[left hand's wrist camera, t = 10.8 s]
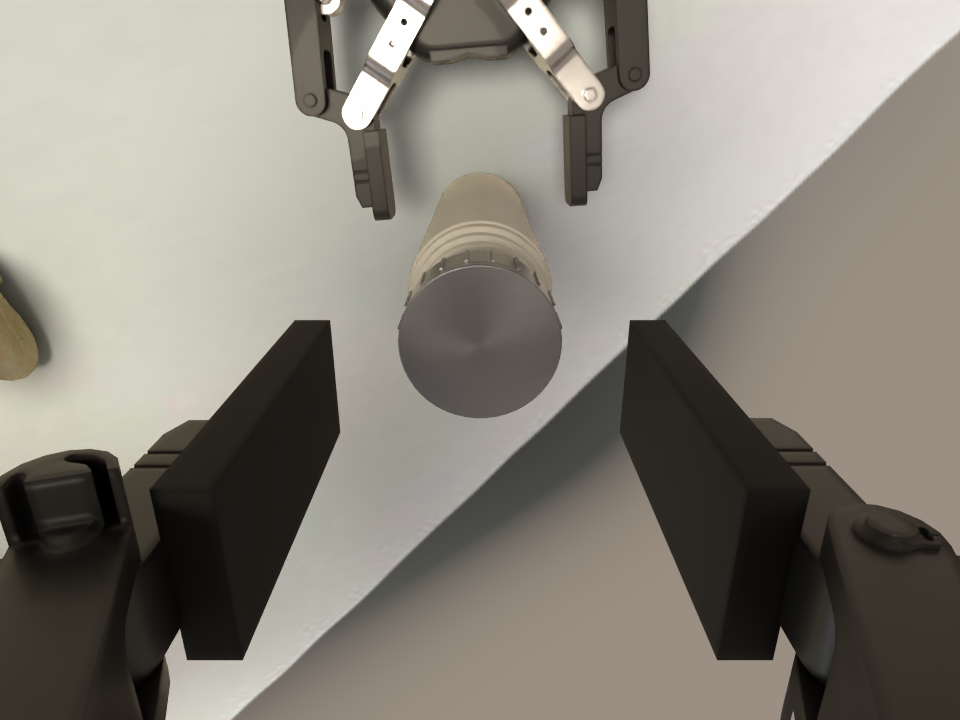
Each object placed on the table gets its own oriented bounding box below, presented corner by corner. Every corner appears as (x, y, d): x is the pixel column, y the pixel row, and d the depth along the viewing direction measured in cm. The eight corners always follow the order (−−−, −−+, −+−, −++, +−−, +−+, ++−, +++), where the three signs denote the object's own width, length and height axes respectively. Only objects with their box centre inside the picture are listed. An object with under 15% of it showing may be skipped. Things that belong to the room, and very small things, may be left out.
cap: (427, 227, 17) (422, 240, 15) (578, 276, 17) (588, 293, 16) (386, 369, 18) (378, 394, 17) (526, 410, 19) (530, 438, 17)
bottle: (451, 160, 34) (417, 225, 15) (534, 188, 34) (597, 283, 16) (426, 244, 35) (370, 392, 17) (506, 269, 36) (534, 440, 18)
